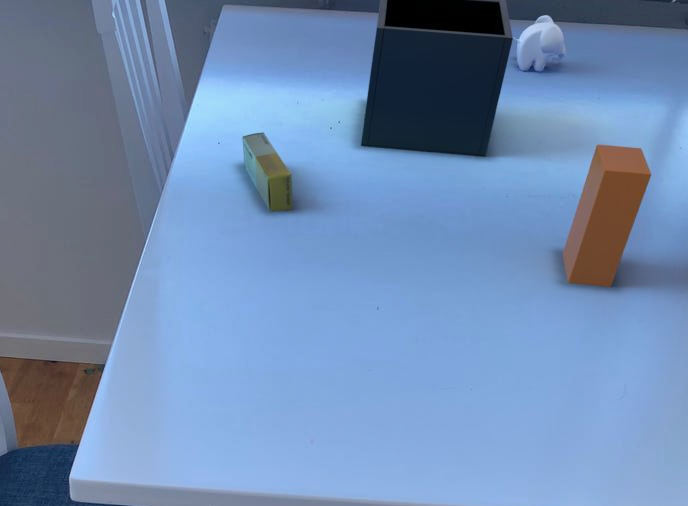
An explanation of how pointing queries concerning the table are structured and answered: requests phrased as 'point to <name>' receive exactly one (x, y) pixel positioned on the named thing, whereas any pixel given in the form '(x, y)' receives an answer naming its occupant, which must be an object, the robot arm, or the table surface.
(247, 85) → the table surface
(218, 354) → the table surface
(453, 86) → the trash can
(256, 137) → the medication box
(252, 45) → the table surface
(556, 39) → the elephant figurine
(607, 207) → the block
